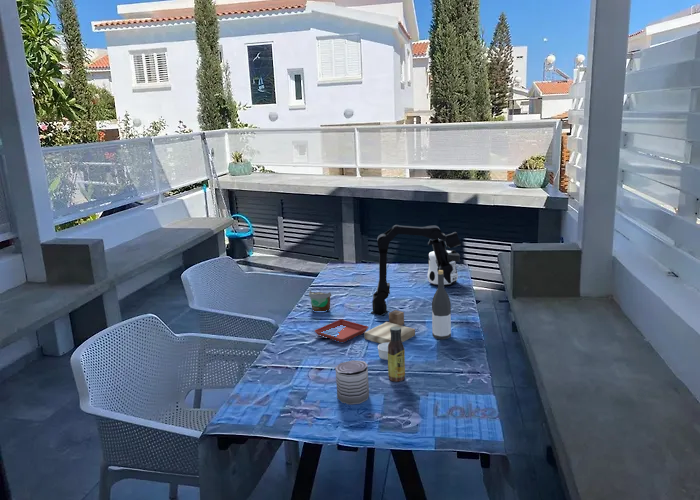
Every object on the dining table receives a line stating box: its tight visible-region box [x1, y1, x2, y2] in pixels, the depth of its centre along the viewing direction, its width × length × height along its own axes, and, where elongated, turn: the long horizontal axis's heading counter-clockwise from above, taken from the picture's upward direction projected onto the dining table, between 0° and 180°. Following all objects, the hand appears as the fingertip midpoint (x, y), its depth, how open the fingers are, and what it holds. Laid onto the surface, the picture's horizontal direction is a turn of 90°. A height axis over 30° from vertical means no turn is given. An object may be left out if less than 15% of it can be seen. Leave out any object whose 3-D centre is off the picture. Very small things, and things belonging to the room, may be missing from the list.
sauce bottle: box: [387, 327, 406, 383], centre depth 202 cm, size 7×6×20 cm
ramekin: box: [377, 342, 389, 361], centre depth 224 cm, size 9×9×4 cm
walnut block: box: [388, 309, 405, 326], centre depth 258 cm, size 5×5×6 cm
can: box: [334, 359, 370, 405], centre depth 192 cm, size 11×11×12 cm
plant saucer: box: [314, 318, 369, 343], centre depth 250 cm, size 18×18×3 cm
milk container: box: [427, 249, 459, 287], centre depth 316 cm, size 17×17×18 cm
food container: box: [308, 290, 332, 311], centre depth 281 cm, size 12×6×10 cm, turn 68°
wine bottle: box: [431, 270, 452, 340], centre depth 239 cm, size 8×8×30 cm
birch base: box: [363, 321, 416, 344], centre depth 244 cm, size 16×16×3 cm
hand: (448, 280), depth 270 cm, fingers open, 9 cm apart
